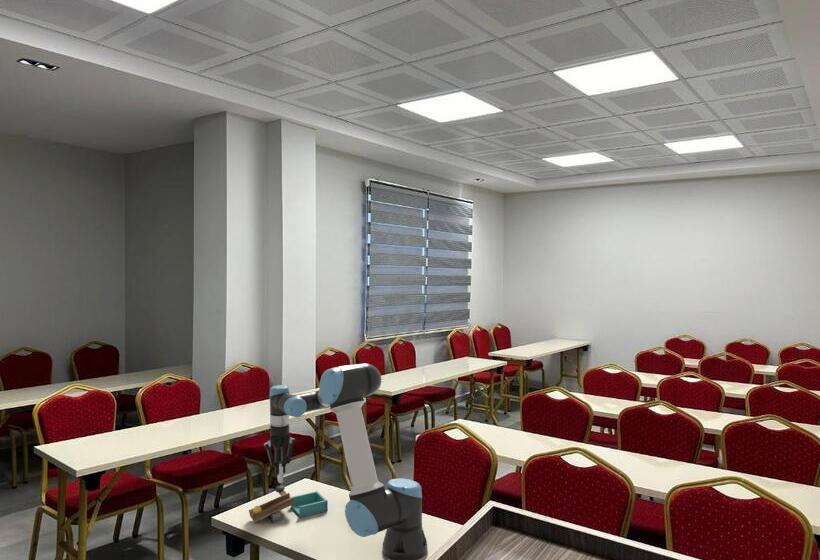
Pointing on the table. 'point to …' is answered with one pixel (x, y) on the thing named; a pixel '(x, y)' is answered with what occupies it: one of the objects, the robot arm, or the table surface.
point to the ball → (257, 509)
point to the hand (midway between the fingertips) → (280, 481)
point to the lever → (273, 504)
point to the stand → (274, 517)
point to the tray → (309, 504)
